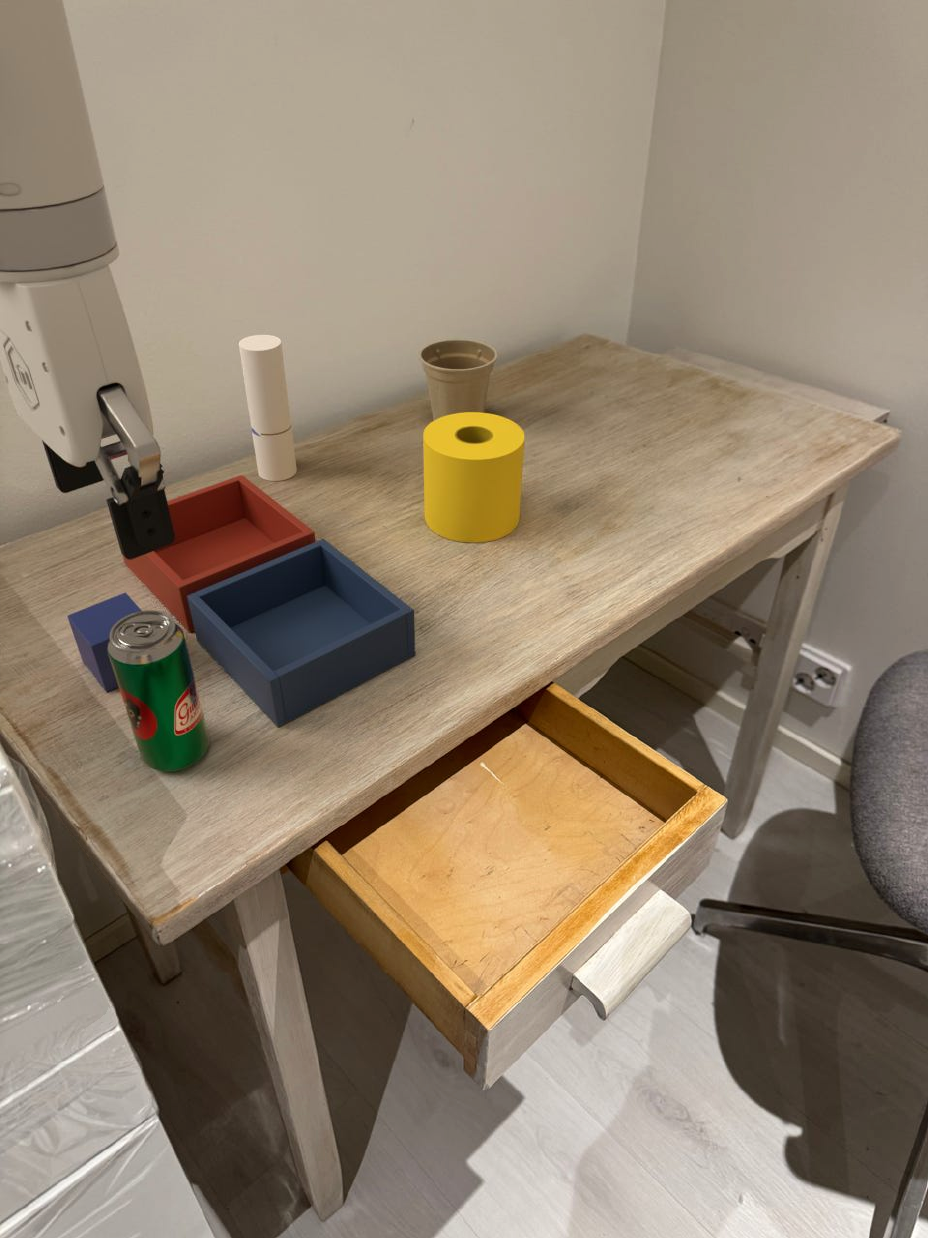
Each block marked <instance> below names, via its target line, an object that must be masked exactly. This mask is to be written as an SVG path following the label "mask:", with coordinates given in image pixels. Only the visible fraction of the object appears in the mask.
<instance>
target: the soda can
mask: <svg viewBox="0 0 928 1238" xmlns="http://www.w3.org/2000/svg"><path fill="white" fill-rule="evenodd" d="M109 637H110V641H109V643H108V647H107V651H108V655H109V658H110V661H111V664H112V667H113V671H114V674H115V677H116V680H117V683H118V686H119V687H118V689H119V692H120V696H121V698H122V702H123V705H124V708H125V711H126V714H127V717H128V721H129V724H130V727H131V731H132V733H133V736H134V740H135V742H136V743H135V744H136V746H137V749H138V752H139V755H140V758H141V760H142V762H143V763H144V764H145V765H146V766H148V768H151V769H153V770H156V771H160V772H168V773H170V772H171V773H172V772H179V771H182V770H185V769H188V768H189V767H191V766H193V765H194V764H196V763H197V762H198V761H200V759H201V758H202V757H203V756H204V755H205V754H206V752H207V751H208V748H209V745H210V736H209V731H208V727H207V724H206V720H205V715H204V711H203V707H202V703H201V699H200V695H199V690H198V685H197V683H196V679H195V675H194V670H193V666H192V662H191V657H190V654H189V649H188V645H187V641H186V636H185V633H184V631H183V628H182V627H181V626H180V625H179V624H177V623H176V621H175V619H174V618H173V616H171V615H170V614H168V613H166V612H165V611H159V610H152V609H151V610H148V609H147V610H142V611H140V612H136V613H132V614H130V615H127V616H126V617H124V618H122V619H120V620H119V621H118V622H117V623H116V624H115V625H114V626H113V627H112V629H111V631H110V636H109Z"/></svg>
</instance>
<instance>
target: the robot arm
mask: <svg viewBox="0 0 928 1238" xmlns="http://www.w3.org/2000/svg"><path fill="white" fill-rule="evenodd" d="M119 256H120V249H119V245H118V241H117V236H116V231H115V227H114V224H113V219H112V214H111V209H110V206H109V201H108V198H107V192H106V188H105V184H104V178H103V173H102V168H101V164H100V161H99V156H98V152H97V148H96V142H95V138H94V133H93V129H92V124H91V120H90V116H89V111H88V108H87V102H86V98H85V93H84V89H83V85H82V80H81V76H80V72H79V67H78V62H77V58H76V55H75V50H74V45H73V40H72V37H71V32H70V27H69V22H68V19H67V14H66V10H65V5H64V0H0V364H1V368H2V371H3V374H4V378H5V381H6V385H7V388H8V392H9V396H10V398H11V402H12V405H13V407H14V409H15V411H16V413H17V415H18V416H19V418H20V419H21V420H22V422H24V424H25V425H26V426H28V428H29V429H30V430H31V431H32V432H33V433H35V435H36V436H37V437H38V438H39V439H40V440H41V443H42V445H43V448H44V452H45V455H46V458H47V460H48V464H49V467H50V470H51V474H52V477H53V480H54V482H55V486H56V488H57V489H58V490H59V492H60V493H62V494H69V493H71V492H74V491H76V490H80V489H82V488H86V487H88V486H91V485H94V484H97V483H100V482H103V481H104V483H105V485H106V487H107V489H108V491H109V493H110V495H111V497H110V498H107V499H105V500H106V504H107V509H108V511H109V515H110V518H111V521H112V525H113V529H114V532H115V536H116V539H117V543H118V547H119V550H120V553H121V555H122V557H123V556H124V557H125V558H126V559H128V560H131V559H134V558H137V557H140V556H142V555H145V554H147V553H150V552H152V551H155V550H157V549H160V548H163V547H165V546H168V545H170V544H172V543H173V542H174V541H175V533H174V529H173V524H172V520H171V516H170V512H169V507H168V503H167V501H168V499H167V494H166V491H165V490H166V482H165V480H164V479H165V478H164V474H165V470H164V469H162V468H163V465H162V463H161V456H162V455H161V453H162V452H161V451H162V450H161V448H160V445H159V443H158V441H157V439H156V438H155V436H154V425H153V418H152V412H151V409H150V408H151V407H150V402H149V399H148V393H147V390H146V386H145V381H144V377H143V373H142V370H141V366H140V362H139V358H138V355H137V351H136V348H135V345H134V340H133V337H132V333H131V330H130V327H129V324H128V321H127V316H126V314H125V310H124V306H123V304H122V301H121V298H120V294H119V292H118V287H117V285H116V283H115V279H114V276H113V273H112V270H111V268H110V265H111V264H112V263H114V262H115V261H116V260H117V259H118V257H119ZM112 436H117V437H118V439H119V441H116V442H113V443H109V444H106V445H103V446H102V440H103V439H106V438H110V437H112ZM124 456H127V461H128V463H129V465H130V466H127V467H125V468H124V469H123V472H122V474H121V477H120V475H119V473H118V472H117V470H116V468H115V466H114V464H113V461H112V460H114V459H118V458H121V457H124Z"/></svg>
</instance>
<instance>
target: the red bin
mask: <svg viewBox="0 0 928 1238" xmlns="http://www.w3.org/2000/svg"><path fill="white" fill-rule="evenodd" d="M167 503H168V507H169V512H170V516H171V520H172V524H173V529H174V533H175V541H174V542H173V543H172V544H170V545H168V546H165V547H163V548H160V549H157V550H155V551H152V552H150V553H147V554H145V555H142V556H140V557H137V558H134V559H131V560H128V559H126V558H125V557H124V556H123V555H122V558H123V561H124V562H123V563H124V564H125V565H126V567H128V569H129V570H130V571H131V572H132V573H133V574H134V575H135V576H136V577H137V579H139V581H140V582H141V583H142V584H143V585H144V586H145V587H146V588H147V589H148V590H149V591H150V592H151V593H152V594H153V595H154V597H156V599H157V600H158V601H159V602H160V603H161V604H162V605H163V606H164V608H166V609H167V610H168V612H169V613H170V614H171V615H172V617H174V618H175V619H176V620H177V621H178V622H179V624H181V625H182V627H183V628H184V629H185V630H186V631H187V632H188V633H193V632H195V629H194V625H193V620H192V616H191V612H190V607H189V603H188V599H187V596H188V595H190V594H193V593H196V592H197V591H200V590H202V589H204V588H207V587H209V586H212V585H214V584H216V583H219V582H221V581H224V580H226V579H228V578H231V577H233V576H236V575H238V574H240V573H243V572H245V571H247V570H250V569H252V568H255V567H257V566H259V565H262V564H264V563H267V562H269V561H271V560H274V559H276V558H279V557H281V556H283V555H286V554H288V553H290V552H293V551H295V550H298V549H300V548H302V547H305V546H307V545H310V544H312V543H314V542H317V540H316V532H315V530H313V529H312V528H310V527H309V526H308V525H306V524H305V523H304V521H301V520H300V519H299V518H298V517H296V516H295V515H294V514H292V513H291V512H290V511H289V510H288V509H286V508H285V507H284V506H282V505H281V504H280V503H279V502H277V501H276V500H274V499H273V498H272V497H271V496H270V495H269V494H267V493H266V492H264V491H263V490H262V489H261V488H259V487H258V486H257V485H256V484H254V483H253V482H252V481H251V480H249V479H248V478H247V477H246V476H244V475H243V474H240V475H237V476H235V477H231V478H228V479H226V480H223V481H220V482H217V483H214V484H211V485H209V486H206V487H203V488H201V489H198V490H195V491H191V492H189V493H186V494H183V495H181V496H178V497H175V498H173V499H169V500H167Z"/></svg>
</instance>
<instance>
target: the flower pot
mask: <svg viewBox="0 0 928 1238" xmlns="http://www.w3.org/2000/svg"><path fill="white" fill-rule="evenodd" d="M498 353H499V352H498V351H497V349H496V348H495V347H493V346H492V345H490V344H488V343H486V342H483V341H481V340H480V341H479V340H474V339H467V338H448V339H442V340H436V341H434V342H431V343H427V344H426V345H424V346H423V347H422V348H420V350H419V351H418V360H419V362H420V363H422V369H423V371H424V373H425V377H426V383H427V387H428V394H429V400H430V406H431V412H432V413H431V414H432V420H433V421H434V420H436V419H438V418H441V417H443V416H447V415H451V414H456V413H464V412H480V413H485V410H486V404H487V397H488V390H489V386H490V385H489V384H490V379H491V373H492V372H493V369H494V364H495V363H496V362H497V360H498V355H499V354H498Z"/></svg>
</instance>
